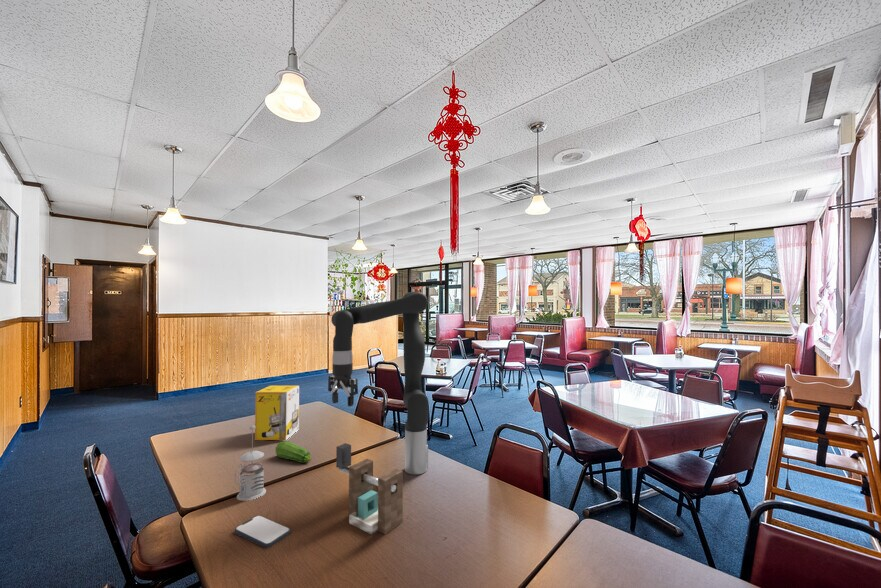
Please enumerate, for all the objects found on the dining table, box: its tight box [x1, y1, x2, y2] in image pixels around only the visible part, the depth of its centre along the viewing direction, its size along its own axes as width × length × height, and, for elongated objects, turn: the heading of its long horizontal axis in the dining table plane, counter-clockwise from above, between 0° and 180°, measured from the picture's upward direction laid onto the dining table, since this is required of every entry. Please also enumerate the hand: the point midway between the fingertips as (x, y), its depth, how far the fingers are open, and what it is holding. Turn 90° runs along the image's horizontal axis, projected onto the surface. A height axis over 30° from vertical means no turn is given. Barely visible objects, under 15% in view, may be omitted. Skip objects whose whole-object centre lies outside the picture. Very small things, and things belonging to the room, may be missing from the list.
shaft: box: [335, 442, 396, 492], centre depth 121 cm, size 26×4×9 cm, turn 54°
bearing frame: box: [348, 458, 404, 536], centre depth 118 cm, size 16×13×16 cm
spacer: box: [358, 489, 378, 519], centre depth 120 cm, size 3×6×6 cm, turn 144°
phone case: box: [234, 515, 291, 549], centre depth 111 cm, size 9×2×16 cm
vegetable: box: [275, 440, 312, 464], centre depth 164 cm, size 7×7×20 cm
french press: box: [234, 424, 267, 502], centre depth 134 cm, size 10×12×25 cm
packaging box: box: [254, 385, 300, 441], centre depth 195 cm, size 16×16×25 cm
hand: (342, 404), depth 139 cm, fingers open, 8 cm apart
